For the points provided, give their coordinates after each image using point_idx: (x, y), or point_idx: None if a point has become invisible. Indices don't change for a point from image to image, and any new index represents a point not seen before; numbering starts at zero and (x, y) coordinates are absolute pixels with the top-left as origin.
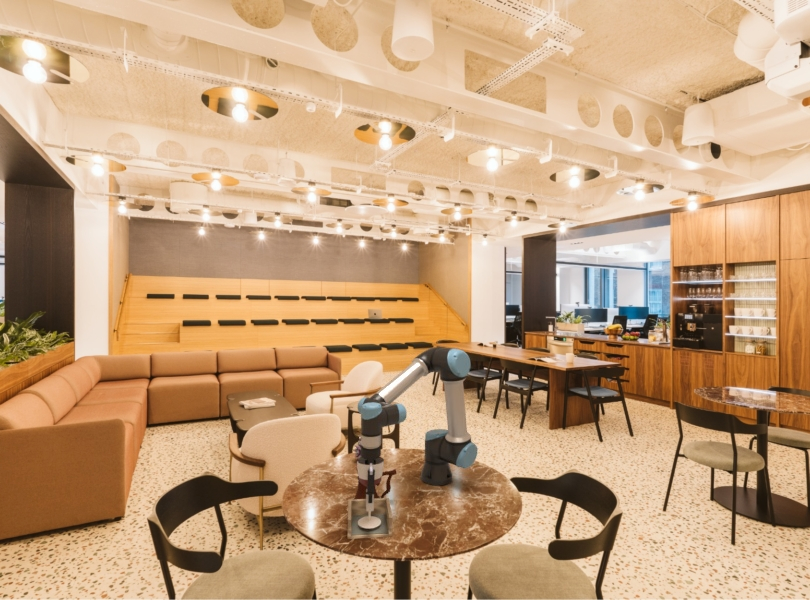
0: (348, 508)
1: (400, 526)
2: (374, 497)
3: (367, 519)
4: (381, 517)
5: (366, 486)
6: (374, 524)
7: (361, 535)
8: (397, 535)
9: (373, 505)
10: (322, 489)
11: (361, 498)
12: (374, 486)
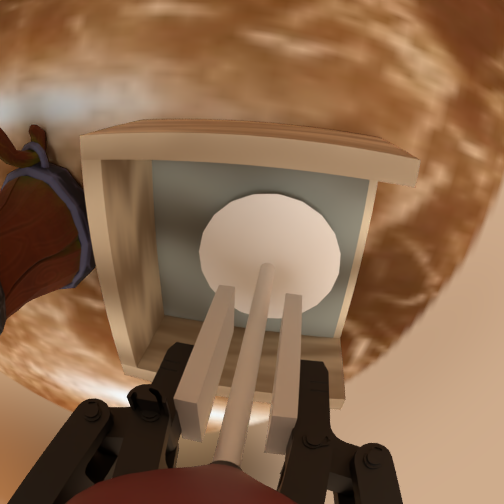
0: (219, 394)
1: (280, 63)
2: (38, 211)
3: (255, 276)
4: (188, 170)
5: (169, 454)
6: (311, 243)
7: (348, 298)
8: (376, 105)
9: (300, 326)
10: (13, 342)
11: (58, 279)
12: (150, 403)
